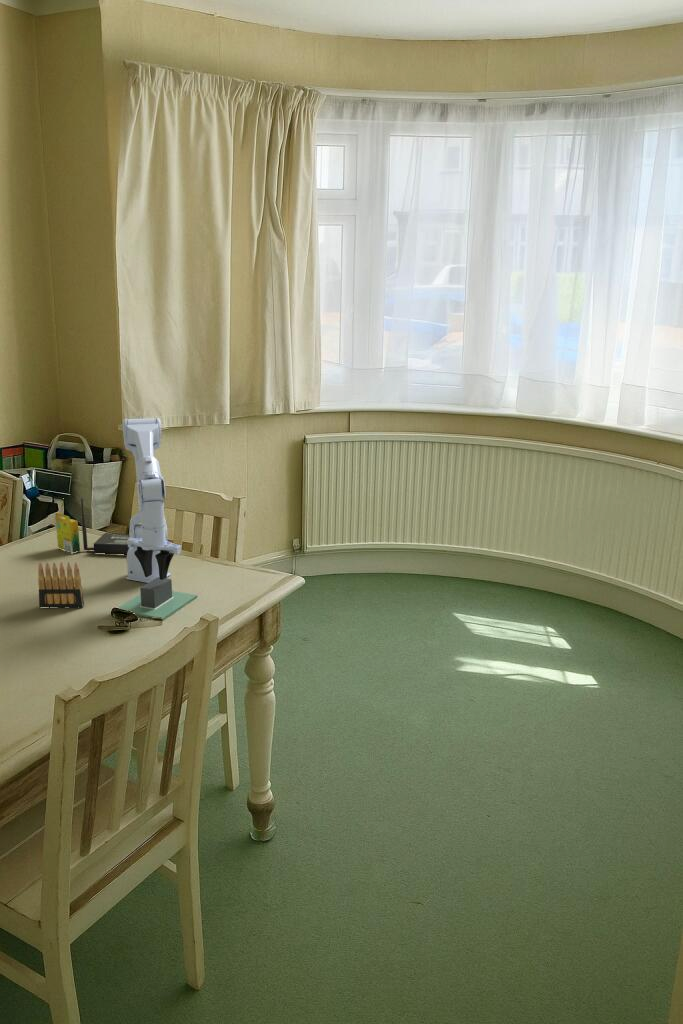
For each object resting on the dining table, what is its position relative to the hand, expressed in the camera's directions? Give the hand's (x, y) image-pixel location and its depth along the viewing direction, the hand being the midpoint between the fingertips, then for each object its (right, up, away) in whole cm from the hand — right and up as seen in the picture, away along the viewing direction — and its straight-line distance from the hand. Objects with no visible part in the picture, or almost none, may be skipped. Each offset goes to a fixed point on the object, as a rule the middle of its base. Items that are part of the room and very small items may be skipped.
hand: (155, 577), depth 215 cm
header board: (0, -7, +2) cm, 7 cm away
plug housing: (0, -6, +2) cm, 7 cm away
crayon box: (-35, +5, +40) cm, 53 cm away
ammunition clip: (-24, -8, 0) cm, 25 cm away
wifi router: (-20, +5, +42) cm, 47 cm away
